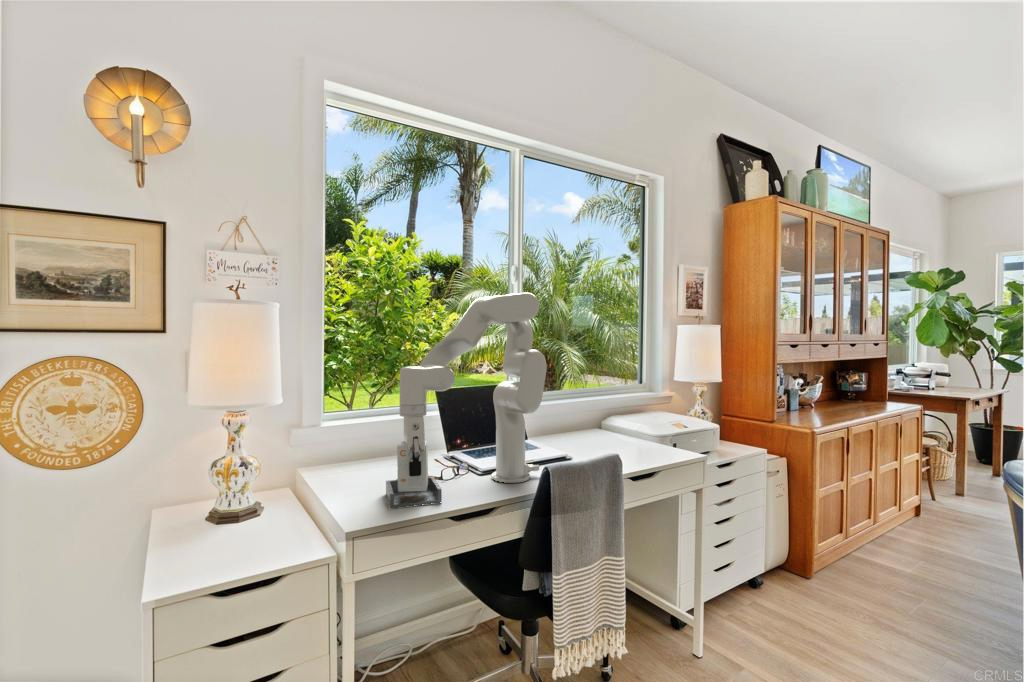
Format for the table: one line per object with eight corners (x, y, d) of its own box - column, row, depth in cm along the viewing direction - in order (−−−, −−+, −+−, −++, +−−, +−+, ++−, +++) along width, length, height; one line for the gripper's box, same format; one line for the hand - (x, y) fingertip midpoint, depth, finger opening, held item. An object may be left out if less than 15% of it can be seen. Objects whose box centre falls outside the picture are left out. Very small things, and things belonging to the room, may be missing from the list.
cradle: (433, 489, 154) (433, 475, 154) (441, 503, 141) (441, 487, 141) (386, 494, 149) (385, 479, 149) (390, 508, 137) (390, 493, 137)
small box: (428, 484, 148) (428, 440, 148) (426, 491, 142) (426, 445, 142) (399, 485, 148) (399, 440, 147) (397, 492, 141) (397, 445, 141)
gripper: (431, 413, 137) (431, 479, 138) (421, 405, 154) (421, 463, 154) (403, 415, 135) (403, 481, 135) (396, 406, 151) (396, 465, 152)
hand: (413, 471), depth 145 cm, fingers closed on small box, 7 cm apart
